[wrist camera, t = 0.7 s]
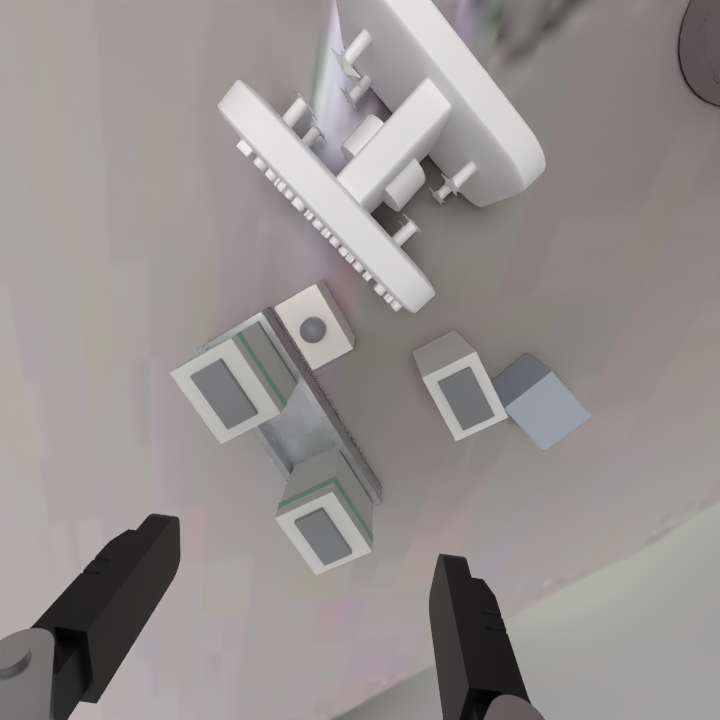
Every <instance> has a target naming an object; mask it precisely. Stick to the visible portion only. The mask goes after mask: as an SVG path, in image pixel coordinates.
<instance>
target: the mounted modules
mask: <svg viewBox="0 0 720 720" xmlns="http://www.w3.org/2000/svg"><path fill="white" fill-rule="evenodd" d="M170 374H171V376H172V377H173V378H174V380H175V381H176V383H177V384H178V385H179V387H180V388H181V390H182V391H183V392H184V394H185V395H186V396H187V398H188V399H189V401H190V402H191V403H192V405H193V406H194V407H195V409H196V410H197V412H198V413H199V414H200V416H201V417H202V418H203V420H204V421H205V423H206V424H207V425H208V427H209V428H210V430H211V431H212V432H213V434H214V435H215V436H216V438H217V439H218V441H219V442H220V443H221V444H223V443H225V442H227V441H229V440H230V439H232V438H234V437H236V436H238V435H240V434H242V433H244V432H246V431H248V430H250V429H252V428H254V427H256V426H258V425H259V424H261V423H263V422H265V421H267V420H269V419H271V418H273V417H275V416H277V415H279V414H281V412H282V410H283V409H284V408H285V407H286V405H287V401H288V400H289V398H290V396H291V394H292V392H293V391H294V389H295V387H296V385H297V384H298V382H297V381H296V379H295V377H294V376H293V374H292V373H291V371H290V370H289V368H288V366H287V365H286V363H285V362H284V360H283V359H282V357H281V355H280V354H279V352H278V351H277V349H276V347H275V346H274V344H273V343H272V341H271V340H270V338H269V336H268V335H267V333H266V332H265V330H264V329H263V327H262V325H261V324H260V322H259V321H257V322H255V323H253V324H251V325H250V326H248V327H246V328H244V329H243V330H241V331H239V332H237V333H236V334H234V335H232V336H231V337H229V338H227V339H225V340H224V341H222V342H220V343H218V344H217V345H215V346H213V347H211V348H210V349H208V350H207V351H205V352H203V353H202V354H200V355H198V356H196V357H195V358H193V359H191V360H189V361H188V362H186V363H184V364H182V365H181V366H179V367H177V368H176V370H174V371H172V372H171V373H170ZM277 510H278V511H277V514H276V516H275V519H276V521H277V522H278V523H279V525H280V526H281V527H282V529H283V530H284V532H285V533H286V534H287V536H288V537H289V539H290V540H291V541H292V543H293V544H294V545H295V547H296V548H297V550H298V551H299V552H300V554H301V555H302V556H303V558H304V559H305V561H306V562H307V563H308V565H309V566H310V568H311V569H312V570H313V572H314V573H315V574H316V575H318V574H320V573H322V572H325V571H327V570H330V569H332V568H334V567H337V566H339V565H341V564H344V563H346V562H348V561H351V560H353V559H355V558H358V557H360V556H363V555H365V554H367V553H370V552H372V542H373V534H372V499H371V497H370V496H369V494H368V493H367V491H366V489H365V488H364V486H363V485H362V483H361V482H360V480H359V478H358V477H357V475H356V474H355V472H354V471H353V469H352V467H351V466H350V464H349V463H348V461H347V459H346V458H345V456H344V455H343V453H342V452H341V450H340V448H339V447H338V445H336V446H334V447H332V448H330V449H328V450H326V451H324V452H322V453H320V454H318V455H316V456H314V457H312V458H310V459H308V460H306V461H304V462H301V463H299V464H297V465H295V466H294V467H293V470H292V473H291V475H290V478H289V481H288V484H287V486H286V489H285V492H284V495H283V497H282V500H281V502H280V503H279V506H278V508H277Z"/></svg>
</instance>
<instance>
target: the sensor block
mask: <svg viewBox="0 0 720 720" xmlns="http://www.w3.org/2000/svg"><path fill="white" fill-rule="evenodd" d="M274 308H275V310H276V312H277V313H278V315H279V316H280V318H281V320H282V321H283V323H284V325H285V326H286V328H287V329H288V331H289V333H290V334H291V336H292V337H293V339H294V341H295V342H296V344H297V346H298V347H299V349H300V350H301V352H302V354H303V355H304V357H305V359H306V360H307V362H308V363H309V365H310V367H311V368H312V370H314V369H316V368H318V367H320V366H322V365H324V364H326V363H328V362H330V361H331V360H333V359H335V358H337V357H339V356H341V355H343V354H345V353H346V352H348V351H350V350H352V349H353V347H354V342H355V336H354V334H353V332H352V330H351V329H350V327H349V325H348V323H347V322H346V320H345V318H344V316H343V315H342V313H341V311H340V309H339V308H338V306H337V304H336V302H335V301H334V299H333V297H332V295H331V294H330V292H329V290H328V288H327V287H326V285H325V283H324V281H323V280H320V281H318V282H317V283H315V284H313V285H312V286H310V287H308V288H306V289H305V290H303V291H301V292H299V293H298V294H296V295H294V296H292V297H291V298H289V299H287V300H285V301H284V302H282V303H281V304H279V305H277V306H276V307H274Z"/></svg>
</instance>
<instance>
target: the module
mask: <svg viewBox="0 0 720 720" xmlns="http://www.w3.org/2000/svg"><path fill="white" fill-rule="evenodd" d="M412 352H413V355H414V358H415V360H416V363H417V366H418V369H419V371H420V374H421V377H422V379H423V381H424V383H425V384H426V386H427V388H428V390H429V392H430V394H431V396H432V397H433V399H434V401H435V403H436V405H437V407H438V409H439V410H440V412H441V414H442V416H443V418H444V420H445V422H446V423H447V425H448V427H449V429H450V431H451V433H452V435H453V436H454V438H455V440H456V441H458V440H460V439H462V438H465V437H467V436H469V435H471V434H473V433H476V432H478V431H480V430H482V429H484V428H486V427H489V426H491V425H493V424H495V423H497V422H499V421H502V420H504V419H506V418H508V416H507V414H506V412H505V410H504V408H503V406H502V404H501V402H500V400H499V398H498V396H497V394H496V392H495V390H494V387H493V385H492V383H491V381H490V379H489V377H488V375H487V373H486V371H485V369H484V367H483V365H482V363H481V361H480V359H479V357H478V355H477V353H476V351H475V350H474V349H473V348H472V347H471V346H470V345H469V344H468V343H467V342H466V341H465V340H464V339H463V338H462V337H461V336H460V335H459V334H458V333H457V332H456V331H455V330H453V331H451V332H449V333H447V334H445V335H443V336H441V337H439V338H437V339H435V340H433V341H431V342H429V343H428V344H426V345H424V346H422V347H420V348H418V349H416V350H414V351H412Z"/></svg>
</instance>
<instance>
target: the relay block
mask: <svg viewBox="0 0 720 720" xmlns="http://www.w3.org/2000/svg"><path fill="white" fill-rule="evenodd" d="M491 383H492V385H493V387H494V390H495V392H496V394H497V396H498V398H499V400H500V402H501V404H502V406H503V408H504V410H505V411H506V412H507V413H508V414H509V415H510V416H511V417H512V418H513V419H514V420H515V421H516V423H517V424H518V425H519V426H520V427H521V428H522V429H523V430H524V431H525V432H526V433H527V434H528V435H529V436H530V438H531V439H532V440H533V441H534V442H535V443H536V444H537V445H538V446H539V447H540V448H541V449H542V450H543V452H544V451H545V450H547V449H548V448H550V447H551V446H552V445H554V444H555V443H556V442H558V441H559V440H560V439H562V438H563V437H565V436H566V435H567V434H569V433H570V432H571V431H573V430H574V429H576V428H577V427H578V426H580V425H581V424H582V423H584V422H585V421H586V420H588V419H589V418H591V417H592V416H591V415H590V414H589V413H588V412H587V410H586V409H585V408H584V407H583V406H582V405H581V404H580V402H579V401H578V400H577V399H576V398H575V397H574V396H573V394H572V393H571V392H570V391H569V390H568V389H567V388H566V386H565V385H564V384H563V383H562V382H561V381H560V380H559V378H558V377H557V376H556V375H555V374H554V373H553V372H552V371H551V370H550V369H548V368H547V367H546V366H544V365H543V364H541V363H540V362H538V361H537V360H535V359H534V358H533V357H531V356H530V355H528V354H527V353H525V354H524V355H523V356H522V357H520V358H519V359H518V360H517V361H515V362H514V363H513V364H512V365H510V366H509V367H508V368H507V369H506V370H504V371H503V372H502V373H501V374H499V375H498V376H497V377H496V378H494V379H493V380H492V381H491Z"/></svg>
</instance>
